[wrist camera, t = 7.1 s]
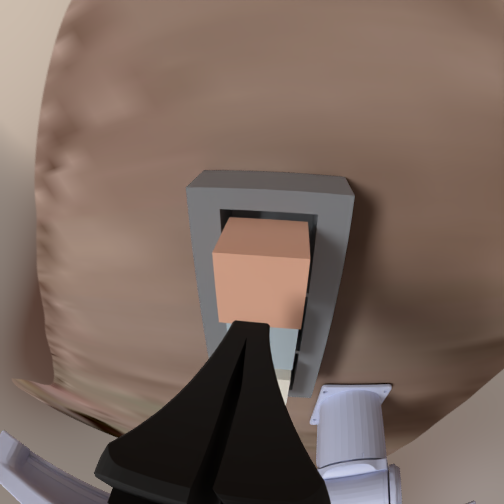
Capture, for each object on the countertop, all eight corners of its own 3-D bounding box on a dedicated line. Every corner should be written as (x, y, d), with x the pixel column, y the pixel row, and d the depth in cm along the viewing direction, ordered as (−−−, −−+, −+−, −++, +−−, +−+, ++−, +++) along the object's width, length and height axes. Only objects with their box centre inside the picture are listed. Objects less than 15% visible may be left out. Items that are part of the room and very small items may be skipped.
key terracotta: (301, 285, 18) (300, 329, 14) (232, 280, 18) (219, 322, 15) (307, 221, 15) (310, 259, 12) (229, 217, 16) (212, 252, 13)
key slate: (294, 331, 22) (292, 370, 18) (239, 326, 22) (230, 364, 19) (299, 287, 19) (298, 327, 16) (237, 283, 20) (226, 321, 17)
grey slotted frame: (311, 368, 27) (310, 397, 24) (221, 360, 28) (214, 388, 25) (344, 177, 17) (354, 195, 14) (203, 170, 18) (185, 187, 15)
